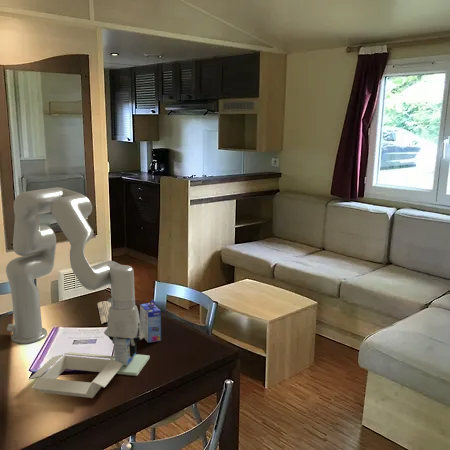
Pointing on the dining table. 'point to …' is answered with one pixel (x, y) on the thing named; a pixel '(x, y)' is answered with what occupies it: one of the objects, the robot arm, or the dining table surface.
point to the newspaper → (104, 310)
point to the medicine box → (122, 350)
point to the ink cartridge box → (150, 321)
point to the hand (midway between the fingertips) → (125, 353)
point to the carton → (75, 388)
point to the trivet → (134, 365)
